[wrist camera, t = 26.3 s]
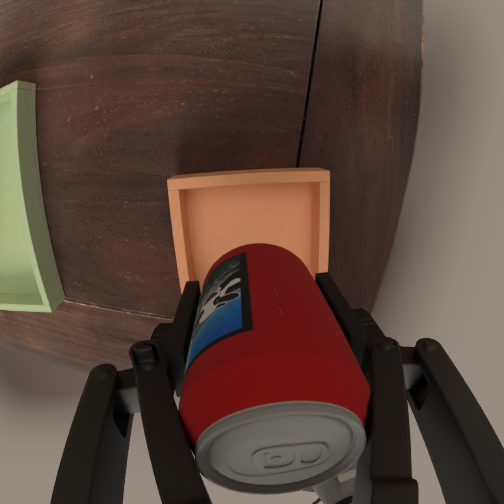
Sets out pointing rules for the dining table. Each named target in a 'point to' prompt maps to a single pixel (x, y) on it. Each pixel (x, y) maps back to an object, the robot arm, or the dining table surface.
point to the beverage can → (270, 378)
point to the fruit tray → (23, 210)
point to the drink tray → (249, 216)
